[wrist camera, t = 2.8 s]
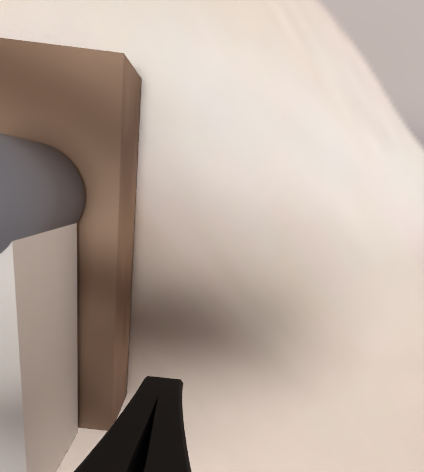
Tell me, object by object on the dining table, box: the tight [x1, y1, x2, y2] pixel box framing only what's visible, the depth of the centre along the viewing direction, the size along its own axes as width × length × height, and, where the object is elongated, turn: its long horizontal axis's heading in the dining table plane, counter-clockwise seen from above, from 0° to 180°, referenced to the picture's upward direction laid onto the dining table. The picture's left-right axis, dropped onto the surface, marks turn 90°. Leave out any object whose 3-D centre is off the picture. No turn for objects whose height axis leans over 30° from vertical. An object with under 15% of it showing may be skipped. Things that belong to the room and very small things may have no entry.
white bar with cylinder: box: [0, 133, 85, 472], centre depth 8 cm, size 13×4×3 cm, turn 173°
